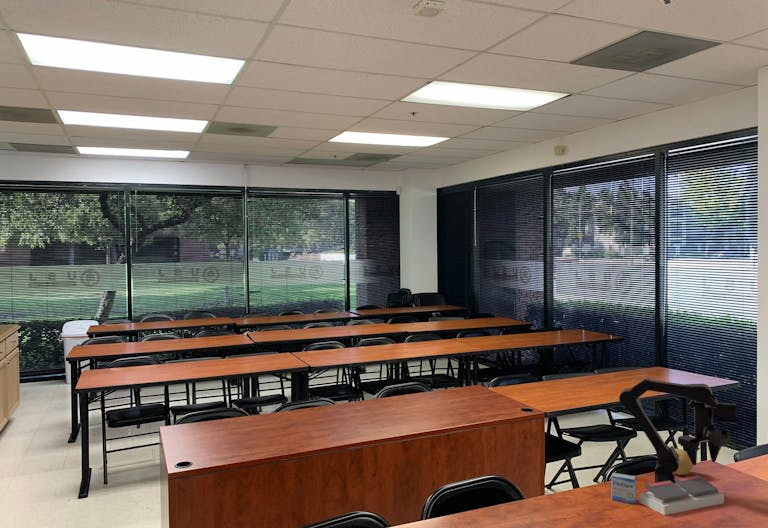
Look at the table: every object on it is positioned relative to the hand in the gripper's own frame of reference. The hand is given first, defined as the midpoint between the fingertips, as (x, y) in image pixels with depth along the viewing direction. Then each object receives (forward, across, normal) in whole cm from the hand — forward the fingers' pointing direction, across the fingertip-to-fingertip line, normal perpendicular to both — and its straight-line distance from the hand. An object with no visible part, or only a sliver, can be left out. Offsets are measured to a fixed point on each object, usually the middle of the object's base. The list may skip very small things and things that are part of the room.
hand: (704, 463), depth 200 cm
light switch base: (+12, -12, -1) cm, 17 cm away
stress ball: (+12, +10, +20) cm, 25 cm away
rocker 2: (+7, -5, -1) cm, 9 cm away
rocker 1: (+7, -19, -1) cm, 20 cm away
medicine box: (+12, -29, +8) cm, 33 cm away
